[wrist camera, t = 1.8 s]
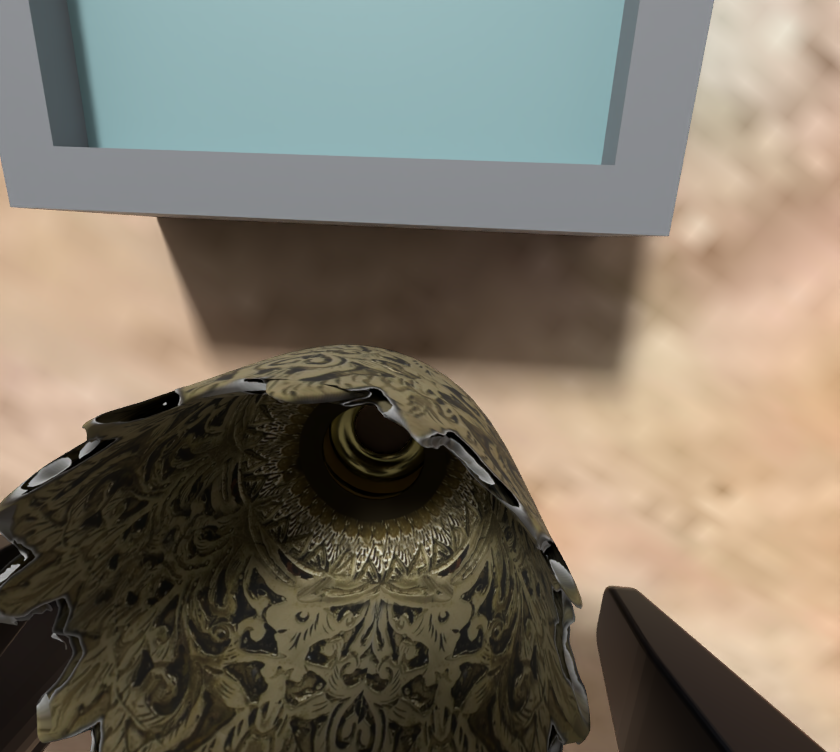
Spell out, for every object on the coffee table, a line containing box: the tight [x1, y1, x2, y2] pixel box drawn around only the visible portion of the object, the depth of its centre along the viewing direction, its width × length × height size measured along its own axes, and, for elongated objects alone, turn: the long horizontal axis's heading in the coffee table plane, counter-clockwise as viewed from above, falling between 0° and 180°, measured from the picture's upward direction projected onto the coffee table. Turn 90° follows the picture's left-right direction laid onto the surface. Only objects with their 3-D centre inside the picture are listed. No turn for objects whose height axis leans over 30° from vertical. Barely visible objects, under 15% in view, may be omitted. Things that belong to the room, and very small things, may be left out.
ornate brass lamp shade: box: [0, 345, 590, 752], centre depth 9 cm, size 8×7×8 cm
